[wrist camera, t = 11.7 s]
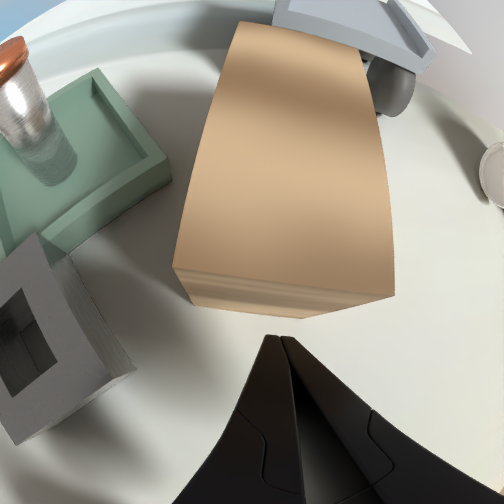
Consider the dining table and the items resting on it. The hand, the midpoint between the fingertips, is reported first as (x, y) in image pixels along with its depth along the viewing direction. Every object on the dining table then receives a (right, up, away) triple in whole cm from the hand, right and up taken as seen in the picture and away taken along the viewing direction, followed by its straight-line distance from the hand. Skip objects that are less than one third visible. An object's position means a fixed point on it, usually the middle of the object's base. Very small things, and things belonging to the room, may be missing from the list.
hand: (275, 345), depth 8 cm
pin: (-14, +9, +8) cm, 18 cm away
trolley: (+6, +21, +15) cm, 27 cm away
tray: (-14, +8, +8) cm, 18 cm away
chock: (0, +5, +9) cm, 11 cm away
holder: (-12, -3, +5) cm, 14 cm away
